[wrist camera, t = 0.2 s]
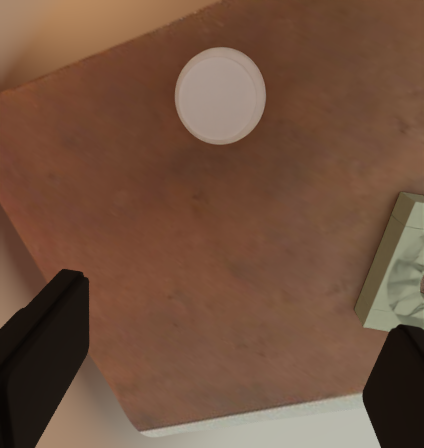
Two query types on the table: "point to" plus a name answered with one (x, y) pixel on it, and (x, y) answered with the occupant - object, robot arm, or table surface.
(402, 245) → the pad
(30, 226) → the table surface
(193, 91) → the pill bottle
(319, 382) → the table surface
